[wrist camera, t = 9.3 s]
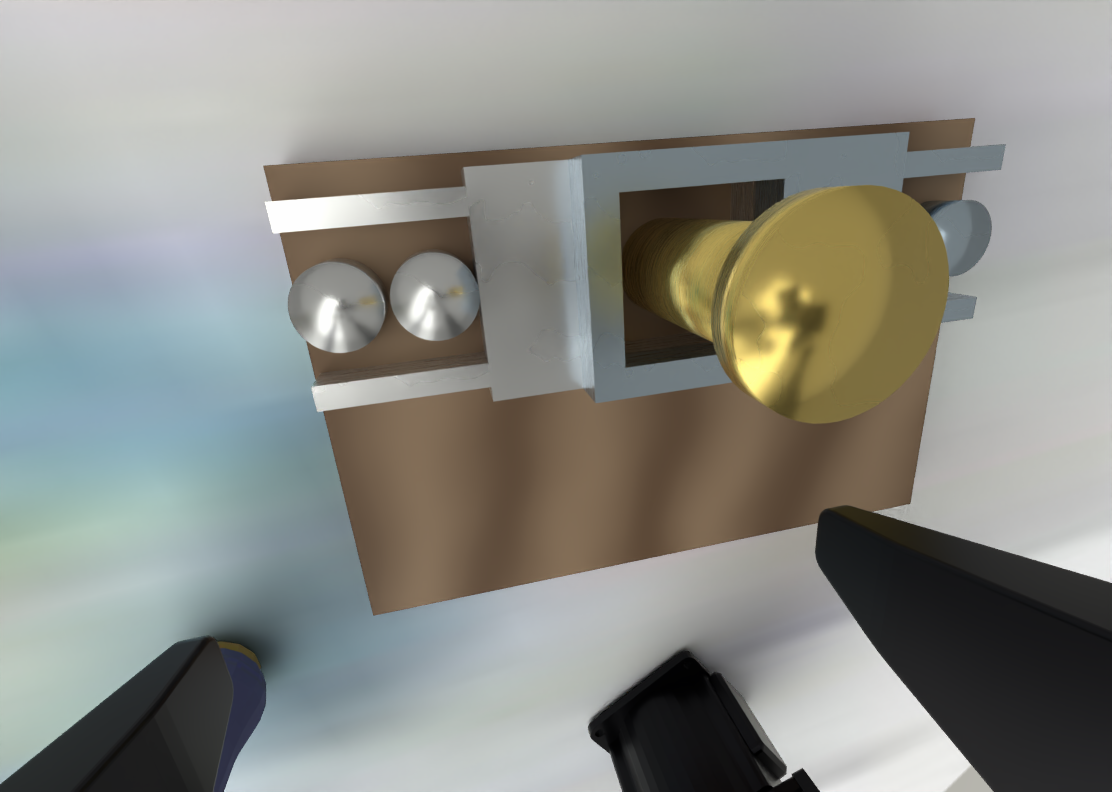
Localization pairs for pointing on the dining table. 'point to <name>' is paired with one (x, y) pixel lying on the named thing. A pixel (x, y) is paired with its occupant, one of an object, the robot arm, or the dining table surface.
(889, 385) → the pin
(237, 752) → the rubber mallet
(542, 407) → the board
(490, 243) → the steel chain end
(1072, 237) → the dining table surface
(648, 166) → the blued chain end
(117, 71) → the dining table surface
